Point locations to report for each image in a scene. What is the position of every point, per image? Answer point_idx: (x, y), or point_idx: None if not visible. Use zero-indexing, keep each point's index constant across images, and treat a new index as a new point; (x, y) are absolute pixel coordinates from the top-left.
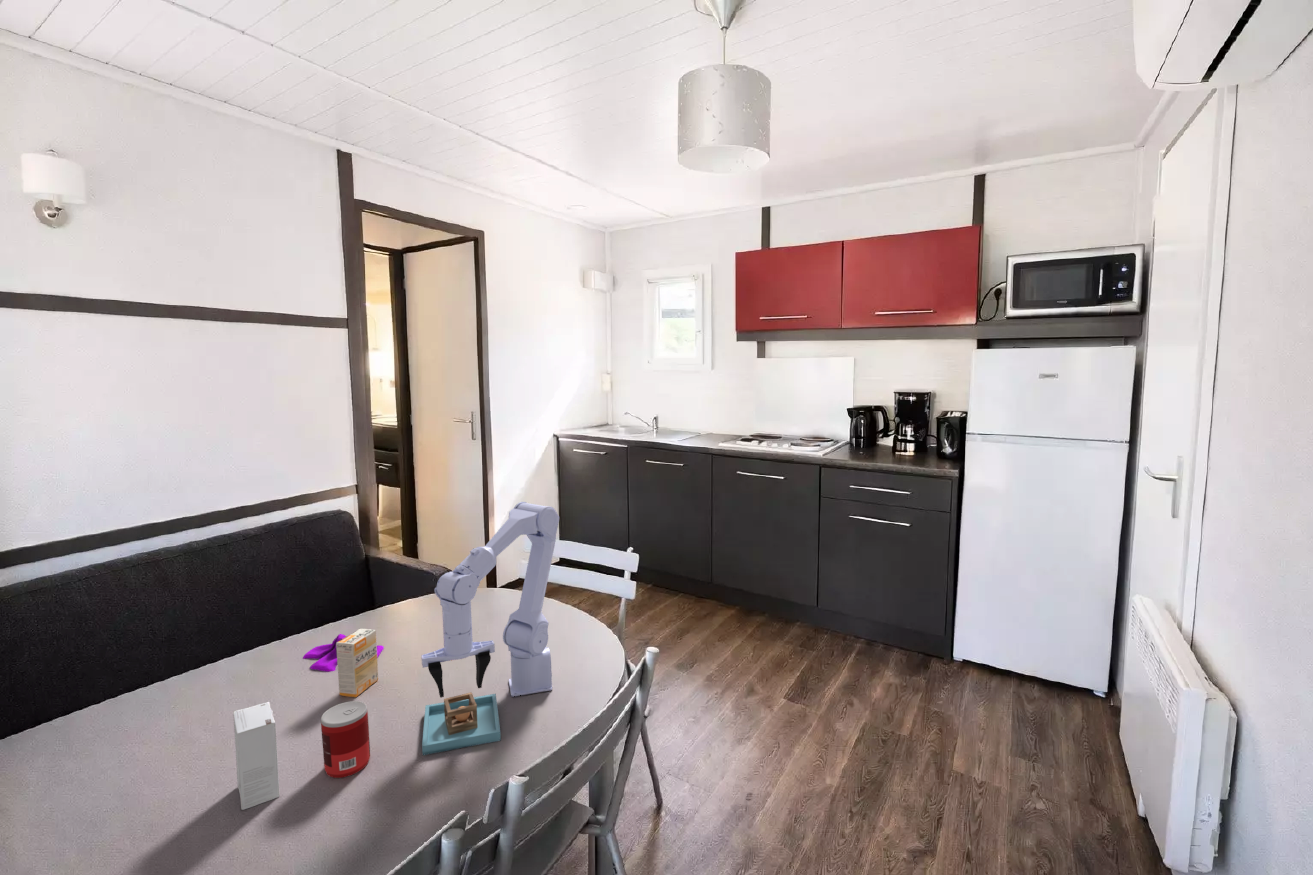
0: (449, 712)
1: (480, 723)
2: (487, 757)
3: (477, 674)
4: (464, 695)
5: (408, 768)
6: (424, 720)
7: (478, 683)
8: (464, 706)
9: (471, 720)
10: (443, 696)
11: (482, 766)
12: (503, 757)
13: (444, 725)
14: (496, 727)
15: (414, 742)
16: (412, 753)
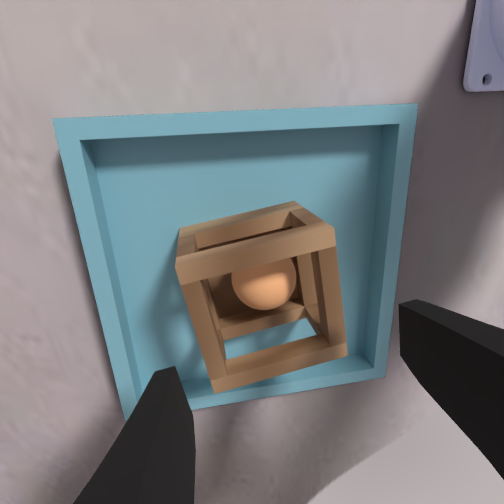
0: (222, 389)
1: None
2: (324, 416)
3: (464, 380)
4: (293, 256)
5: (100, 440)
6: (88, 266)
7: (425, 389)
8: (281, 280)
9: (297, 309)
10: (191, 418)
11: (309, 445)
12: (363, 419)
13: None
14: (377, 355)
15: (80, 325)
16: (92, 380)
